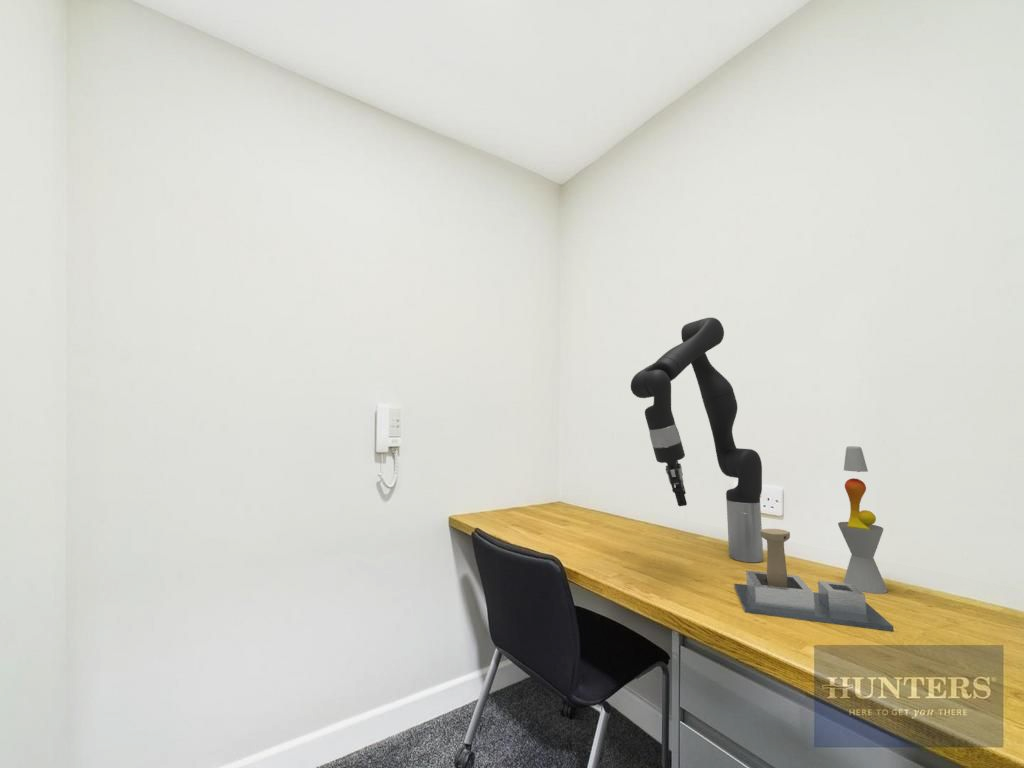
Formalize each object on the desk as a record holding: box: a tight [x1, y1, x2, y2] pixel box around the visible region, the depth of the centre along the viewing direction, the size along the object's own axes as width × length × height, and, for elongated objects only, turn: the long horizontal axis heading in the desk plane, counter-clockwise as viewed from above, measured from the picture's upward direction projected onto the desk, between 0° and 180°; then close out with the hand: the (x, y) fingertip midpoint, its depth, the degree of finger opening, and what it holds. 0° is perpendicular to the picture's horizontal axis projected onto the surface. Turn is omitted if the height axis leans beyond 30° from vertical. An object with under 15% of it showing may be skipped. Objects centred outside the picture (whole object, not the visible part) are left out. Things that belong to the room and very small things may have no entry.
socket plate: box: [733, 570, 894, 632], centre depth 95 cm, size 15×26×5 cm, turn 70°
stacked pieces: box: [837, 445, 889, 595], centre depth 109 cm, size 9×9×35 cm
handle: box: [760, 528, 791, 588], centre depth 98 cm, size 5×6×15 cm
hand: (682, 499), depth 115 cm, fingers open, 8 cm apart
